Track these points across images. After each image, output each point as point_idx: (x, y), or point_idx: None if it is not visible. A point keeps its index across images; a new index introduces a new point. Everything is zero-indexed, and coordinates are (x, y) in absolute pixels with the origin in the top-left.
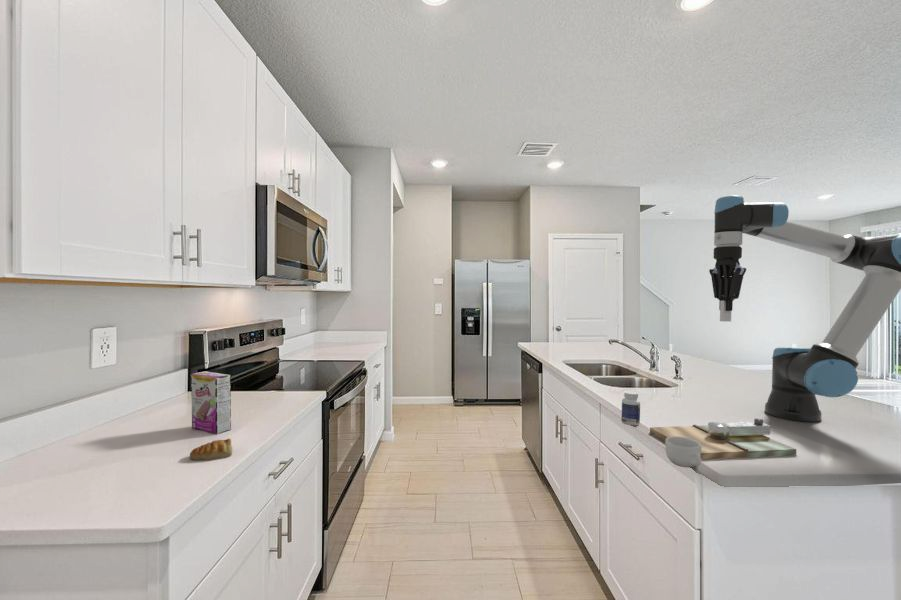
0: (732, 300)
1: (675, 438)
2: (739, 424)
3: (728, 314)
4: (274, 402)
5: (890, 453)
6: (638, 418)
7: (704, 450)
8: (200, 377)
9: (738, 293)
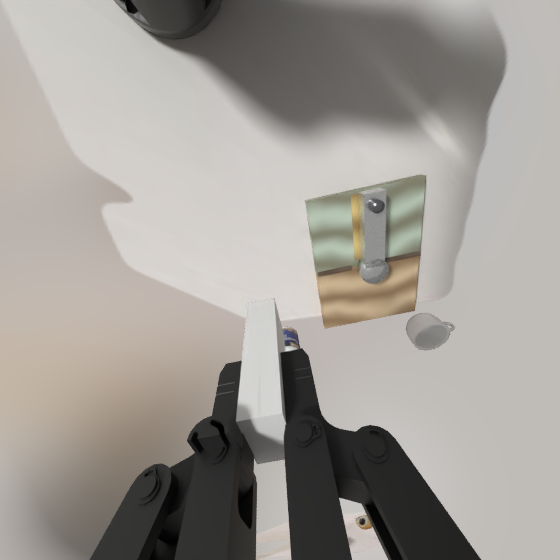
0: (328, 425)
1: (415, 338)
2: (375, 239)
3: (280, 339)
4: (260, 534)
5: None
6: (295, 335)
7: (409, 299)
8: None
9: (431, 500)
